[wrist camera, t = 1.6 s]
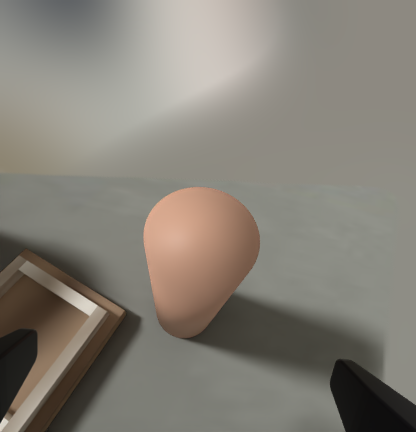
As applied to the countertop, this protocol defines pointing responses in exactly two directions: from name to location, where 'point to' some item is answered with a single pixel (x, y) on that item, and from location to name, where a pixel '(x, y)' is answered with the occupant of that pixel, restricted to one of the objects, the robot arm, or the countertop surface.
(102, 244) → the countertop surface
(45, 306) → the socket plinth
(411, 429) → the robot arm
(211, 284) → the post
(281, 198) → the countertop surface
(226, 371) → the countertop surface
